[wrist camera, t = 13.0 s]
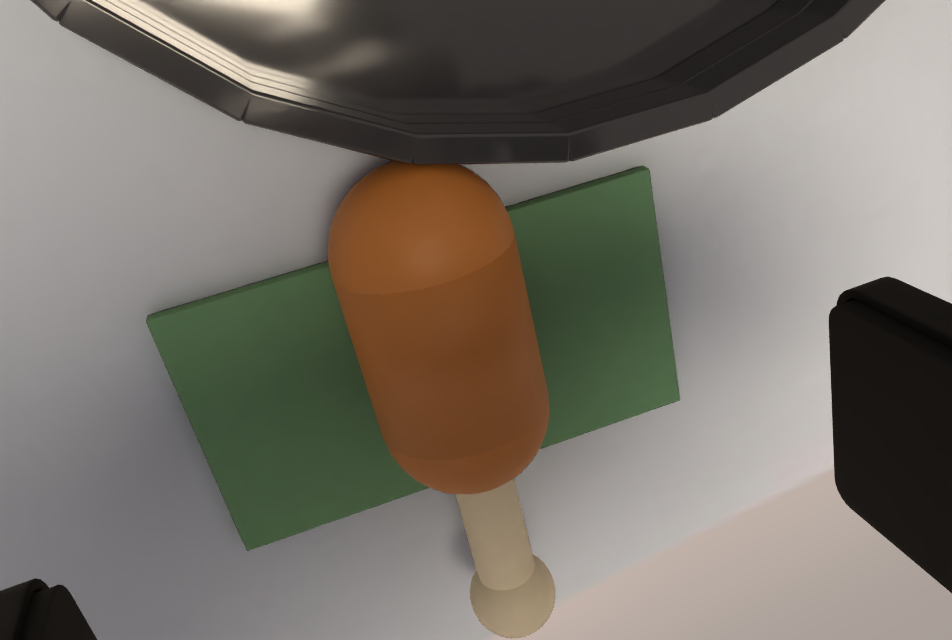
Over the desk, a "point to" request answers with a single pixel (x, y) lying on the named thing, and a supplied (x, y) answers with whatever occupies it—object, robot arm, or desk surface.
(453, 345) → the drumstick
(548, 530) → the desk surface
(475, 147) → the pan
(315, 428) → the napkin
